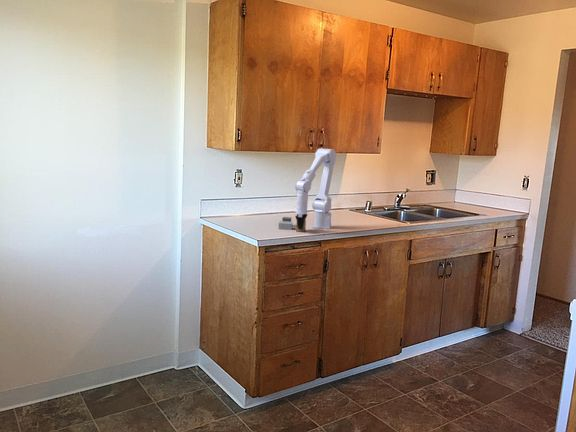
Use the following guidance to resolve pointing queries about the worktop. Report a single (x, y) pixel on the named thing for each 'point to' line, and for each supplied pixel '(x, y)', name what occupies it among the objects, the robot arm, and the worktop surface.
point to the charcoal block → (286, 219)
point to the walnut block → (301, 229)
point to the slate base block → (285, 225)
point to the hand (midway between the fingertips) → (300, 228)
